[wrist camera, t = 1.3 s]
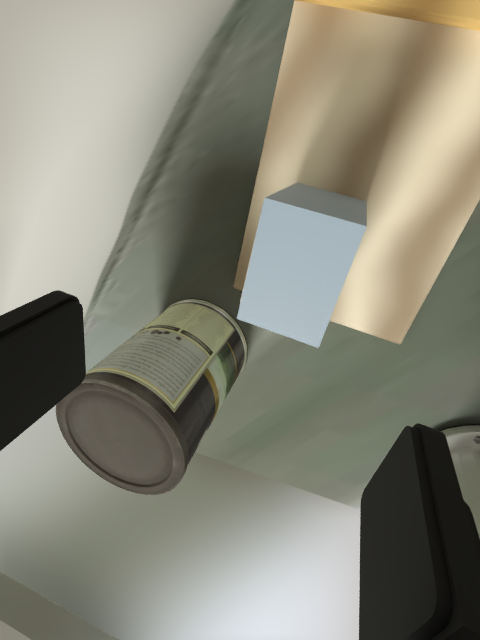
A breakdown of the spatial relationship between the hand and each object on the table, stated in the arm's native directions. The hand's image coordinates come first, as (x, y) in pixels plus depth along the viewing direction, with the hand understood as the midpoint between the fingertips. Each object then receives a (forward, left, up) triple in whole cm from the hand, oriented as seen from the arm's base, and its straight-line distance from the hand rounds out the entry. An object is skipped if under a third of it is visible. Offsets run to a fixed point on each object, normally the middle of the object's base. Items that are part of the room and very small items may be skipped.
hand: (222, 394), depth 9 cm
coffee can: (+8, +14, -21) cm, 26 cm away
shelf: (-2, -4, -20) cm, 21 cm away
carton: (0, 0, -19) cm, 19 cm away
